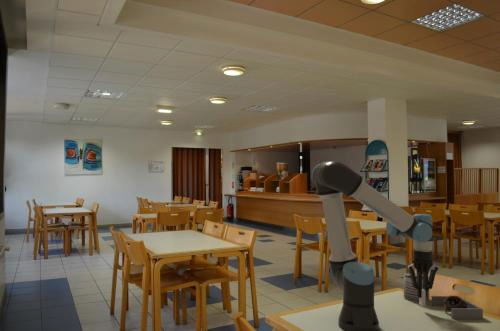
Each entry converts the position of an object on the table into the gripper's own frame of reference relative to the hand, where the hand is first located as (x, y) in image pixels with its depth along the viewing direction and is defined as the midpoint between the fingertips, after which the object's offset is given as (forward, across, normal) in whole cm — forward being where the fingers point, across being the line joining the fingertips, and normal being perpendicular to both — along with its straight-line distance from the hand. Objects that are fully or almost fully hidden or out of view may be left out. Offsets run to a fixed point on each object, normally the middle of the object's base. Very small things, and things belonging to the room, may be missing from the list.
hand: (422, 305), depth 170 cm
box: (+3, -15, 0) cm, 15 cm away
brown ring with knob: (+3, -14, +1) cm, 14 cm away
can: (+3, -5, -18) cm, 19 cm away
